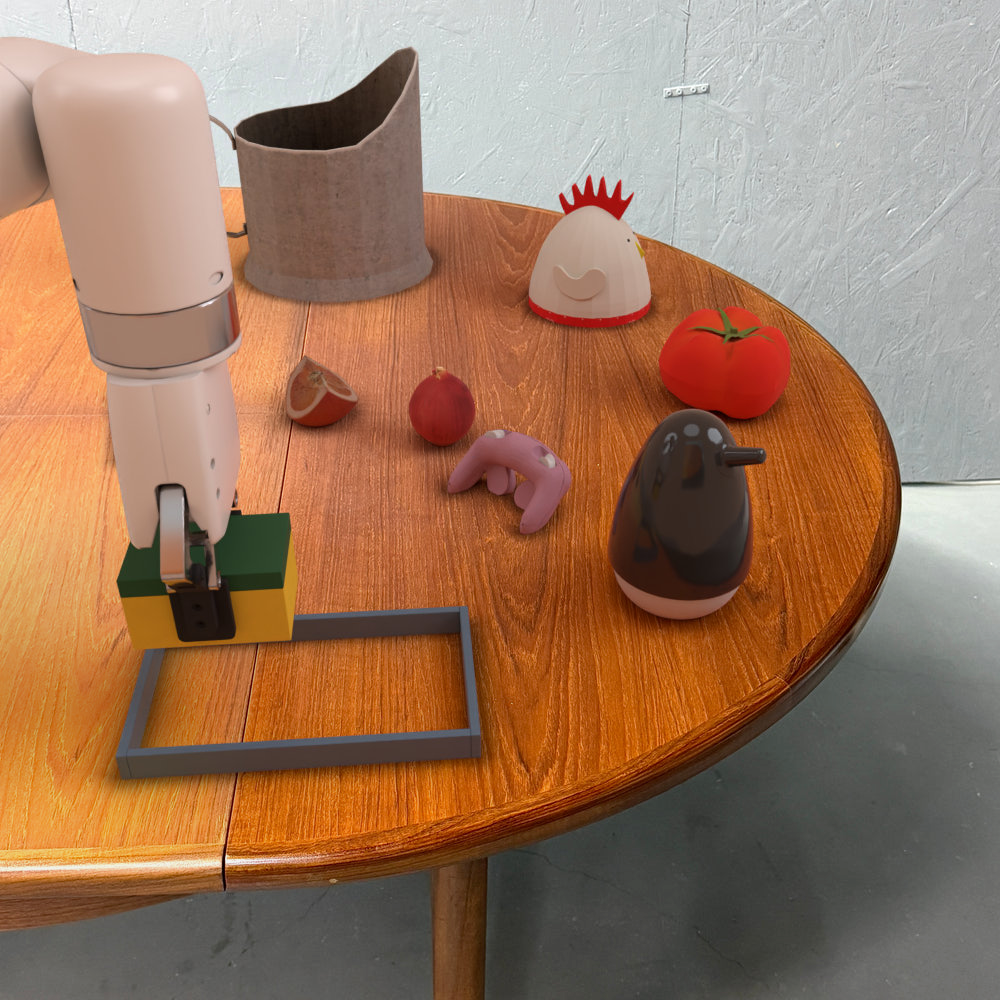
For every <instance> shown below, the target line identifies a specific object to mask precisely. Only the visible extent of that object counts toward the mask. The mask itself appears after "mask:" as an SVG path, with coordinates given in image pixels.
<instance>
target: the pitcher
mask: <svg viewBox="0 0 1000 1000" xmlns="http://www.w3.org/2000/svg"><path fill="white" fill-rule="evenodd" d="M419 63H420V62H419V52H418V51H417V50H416V49H415V48H414V47H413V46H407V47H403V48H399V49H396V50H395V51H394V52H393V53H392V54H390V56H388V57H387V58H386V59H384V60H383V61H382V62H381V63H380V64H379V65H377V66H376V67H375V68H374V69H373V70H372V71H371V72H369V73H368V74H367V75H366V76H364V77H363V78H362V79H361V80H360V81H359V82H358V83H357V84H355V85H354V86H352V87H351V88H349V89H347V90H346V91H344V92H342V93H339V94H338V95H336V96H334V97H333V98H331V99H329V100H323V101H316V102H312V103H305V104H297V105H290V106H284V107H277V108H272V109H269V110H265V111H261V112H256V113H254V114H252V115H250V116H247V117H245V118H242V119H241V120H240V121H238V123H236V125H234V127H233V133H232V131H231V130H230V128H229V127H228V126H226V124H225V123H224V122H222V121H221V120H219V118H217V117H215V116H214V115H211V114H209V118H210V122H212V123H214V124H215V125H216V126H218V127H219V128H221V129H222V130H223V131H224V133H226V134H227V135H228V138H229V140H230V142H231V148H232V151H235V152H236V158H237V166H238V167H237V168H238V173H239V174H238V175H239V180H240V189H241V197H242V205H243V215H244V221H245V222H242V230H240V231H237V232H234V231H227V230H226V233H227V238H230V239H239V238H241V237H245V236H247V245H248V253H247V256H246V260H245V263H244V266H243V272H244V277H245V280H246V281H247V282H248V283H249V284H251V286H253V287H254V288H255V289H256V290H258V291H261V292H263V293H266V294H269V295H272V296H274V297H277V298H282V299H288V300H294V301H300V302H305V303H306V302H307V303H345V302H347V303H348V302H354V301H365V300H372V299H377V298H381V297H385V296H388V295H393V294H398V293H400V292H402V291H404V290H406V289H409V288H411V287H413V286H416V285H418V284H420V283H421V282H422V281H423V280H424V279H426V278H427V277H428V276H429V275H430V274H431V272H432V269H433V265H434V261H433V258H432V256H431V254H430V252H429V249H428V247H427V244H426V234H425V205H424V202H425V201H424V177H423V176H424V175H423V149H422V123H421V120H422V119H421V118H422V117H421V99H420V98H421V96H420V95H421V93H420V92H421V91H420V67H419V66H420V65H419Z"/></svg>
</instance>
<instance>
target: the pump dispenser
mask: <svg viewBox="0 0 1000 1000" xmlns="http://www.w3.org/2000/svg"><path fill="white" fill-rule="evenodd" d="M767 454H768V453H767V451H766V449H765V448H764V447H757V446H756V447H755V446H739V445H738V443H737V441H736V439H735V437H734V435H733V433H732V431H731V430H730V428H729V427H728V425H727V424H726V423H725V421H723V419H721V418H720V417H719V416H717V415H715V414H714V413H713V412H710V411H705V410H701V409H698V408H684V409H679V410H676V411H673V412H672V413H670V414H668V415H666V416H665V417H664V418H662V419H661V420H660V421H659V422H658V423H657V424H656V426H655V427H653V429H652V430H651V431H650V433H649V435H648V436H647V437H646V439H645V440H644V441H643V443H642V444H641V446H640V448H639V449H638V452H637V453H636V455H635V457H634V458H633V461H632V463H631V465H630V467H629V468H628V470H627V473H626V476H625V477H624V480H623V483H622V484H621V488H620V491H619V493H618V496H617V500H616V503H615V506H614V511H613V515H612V519H611V523H610V526H609V527H610V528H609V531H608V537H607V558H608V562H609V564H610V566H611V568H612V570H613V573H614V576H615V579H616V581H617V583H618V585H619V586H620V588H621V590H622V591H623V593H624V594H625V596H626V597H627V598H628V599H629V600H630V601H631V602H632V603H634V605H636V606H637V607H638V608H640V609H642V610H643V611H645V612H647V613H649V614H652V615H653V616H657V617H661V618H665V619H669V620H693V619H698V618H702V617H705V616H708V615H710V614H712V613H714V612H716V611H717V610H719V609H721V608H722V607H723V606H725V605H726V604H727V603H728V602H729V601H730V600H731V599H732V598H733V597H734V595H735V594H736V592H737V591H738V589H739V588H740V586H741V585H742V584H743V583H744V582H745V581H746V580H747V578H748V576H749V574H750V572H751V567H752V563H753V555H754V513H753V504H752V502H753V501H752V496H751V489H750V485H749V480H748V475H747V471H746V468H745V467H747V466H748V467H749V466H756V465H757V466H758V465H762V464H764V463H765V462H766V461H767V456H768V455H767Z"/></svg>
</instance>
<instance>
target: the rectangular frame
mask: <svg viewBox="0 0 1000 1000" xmlns="http://www.w3.org/2000/svg"><path fill="white" fill-rule="evenodd" d="M442 634H443V635H444V634H459V636H460V637H459V638H460V647H461V648H460V649H461V659H462V660H461V661H462V670H463V671H462V672H463V683H464V684H463V685H464V695H465V704H466V717H467V728H454V729H437V730H422V731H420V730H419V731H406V732H388V733H374V734H373V733H371V734H356V735H339V736H322V737H307V738H305V737H304V738H289V739H272V740H254V741H241V742H240V741H239V742H238V741H237V742H224V743H223V742H222V743H221V742H220V743H206V744H190V745H173V746H157V747H156V746H155V747H142V748H141V745H142V742H143V738H144V733H145V730H146V725H147V722H148V717H149V713H150V710H151V705H152V702H153V699H154V694H155V690H156V686H157V683H158V679H159V675H160V671H161V667H162V663H163V659H164V655H165V652H166V648H156V649H144V654H143V658H142V661H141V665H140V667H139V672H138V675H137V678H136V682H135V686H134V690H133V693H132V697H131V701H130V704H129V707H128V710H127V715H126V718H125V722H124V726H123V728H122V731H121V736H120V738H119V743H118V747H117V750H116V753H115V760H116V761H115V762H116V764H117V768H118V771H119V775H120V779H121V780H122V781H123V780H124V781H125V780H141V779H155V778H171V777H173V778H174V777H188V776H189V777H190V776H203V775H204V776H205V775H206V776H207V775H220V774H221V775H222V774H236V773H237V774H238V773H250V772H251V773H252V772H253V773H254V772H268V771H269V772H270V771H281V770H282V771H283V770H284V771H285V770H299V769H315V768H331V767H332V768H333V767H334V768H335V767H344V766H345V767H348V766H364V765H379V764H395V763H397V764H398V763H411V762H413V763H414V762H429V761H444V760H445V761H446V760H458V759H461V760H462V759H471V758H472V759H476V758H481V757H482V733H481V723H480V722H481V721H480V713H479V703H478V702H479V701H478V693H477V684H476V683H477V682H476V673H475V666H474V665H475V664H474V653H473V643H472V634H471V624H470V615H469V606H468V605H460V606H459V605H455V606H438V607H437V606H436V607H435V606H433V607H415V608H399V609H398V608H397V609H396V608H395V609H378V610H362V611H361V610H358V611H357V610H356V611H341V612H339V611H338V612H337V611H336V612H321V613H299V614H298V613H297V614H294V619H293V628H292V637H291V640H287V641H271V642H254V643H238V644H222V645H205V646H204V647H217V646H218V647H219V646H237V645H238V646H239V645H255V644H256V645H257V644H275V643H291V642H293V643H294V642H295V643H296V642H313V641H328V640H330V641H331V640H350V639H367V638H386V637H388V638H389V637H404V636H423V635H424V636H425V635H442ZM198 647H199V648H200V647H202V646H189V647H188V648H198ZM178 648H179V649H181V648H184V647H172V648H171V649H178Z"/></svg>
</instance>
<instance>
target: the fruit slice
mask: <svg viewBox="0 0 1000 1000" xmlns="http://www.w3.org/2000/svg"><path fill="white" fill-rule="evenodd" d="M293 369H294V370H292V371H291V372H290V374H289V378H288V380H287V381H288V382H287V384H286V391H285V398H284V399H285V400H284V402H285V403H284V405H285V406H284V407H285V411H286V415H287V416H288V418H290V419H291V420H293V421H294V422H295V423H297V424H299V425H302V426H306V427H314V428H315V427H325V426H329V425H332V424H334V423H336V422H338V421H340V420H341V419H343V418H344V417H346V416H347V415H348V414H349V413H350V412H351V411H352V410H353V409H354V408H355V407H356V406H357V404H358V403H359V401H360V396H359V395H358V394H357V392H356V391H355V390H354V388H352V386H351V385H350V384H349V383H348V382H347V380H345V379H344V378H343V377H342V376H341V375H339V374H338V373H336V372H335V371H333V370H331V369H330V368H328V367H327V366H326V365H324V364H322V363H320V362H318V361H317V360H314V359H313V358H312V357H310V356H308V355H306V354H304V355H303V356H302V358H301V359H300V361H298V363H297V365H295V367H294V368H293Z"/></svg>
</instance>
